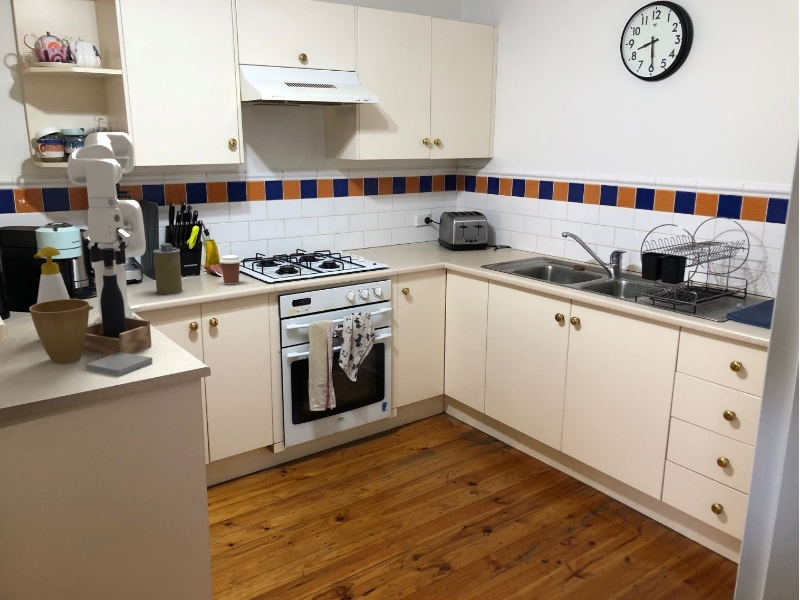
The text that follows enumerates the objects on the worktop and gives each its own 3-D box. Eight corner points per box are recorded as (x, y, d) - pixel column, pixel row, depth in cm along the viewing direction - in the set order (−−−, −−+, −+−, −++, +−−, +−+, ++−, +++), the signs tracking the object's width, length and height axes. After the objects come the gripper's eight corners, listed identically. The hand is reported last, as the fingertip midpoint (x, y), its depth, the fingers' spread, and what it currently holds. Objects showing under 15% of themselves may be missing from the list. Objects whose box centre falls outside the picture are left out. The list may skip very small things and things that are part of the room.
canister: (171, 295, 267) (168, 246, 263) (150, 293, 271) (146, 244, 266) (188, 290, 277) (185, 242, 273) (168, 288, 281) (164, 241, 276)
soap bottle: (26, 344, 201) (14, 249, 194) (45, 334, 211) (35, 244, 204) (67, 345, 200) (57, 250, 193) (85, 335, 210) (75, 245, 204)
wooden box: (112, 339, 207) (110, 314, 205) (151, 345, 200) (149, 320, 199) (80, 349, 196) (77, 323, 194) (120, 356, 190) (118, 330, 188)
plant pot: (28, 359, 187) (22, 304, 183) (83, 348, 197) (78, 296, 193) (46, 372, 177) (39, 314, 173) (102, 360, 187) (97, 305, 183)
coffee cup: (231, 286, 285) (229, 258, 283) (216, 283, 290) (214, 256, 287) (246, 282, 293) (245, 256, 290) (231, 280, 298) (230, 254, 295)
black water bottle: (119, 351, 195) (110, 251, 188) (100, 350, 196) (90, 250, 189) (132, 345, 201) (123, 247, 194) (113, 344, 202) (103, 246, 195)
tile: (120, 356, 190) (120, 351, 189) (152, 362, 185) (152, 357, 185) (86, 369, 179) (85, 364, 179) (119, 375, 174) (118, 370, 174)
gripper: (136, 203, 188) (140, 263, 192) (91, 201, 195) (97, 259, 199) (115, 205, 182) (120, 267, 185) (70, 203, 188) (76, 262, 192)
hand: (108, 262), depth 192 cm, fingers open, 9 cm apart
